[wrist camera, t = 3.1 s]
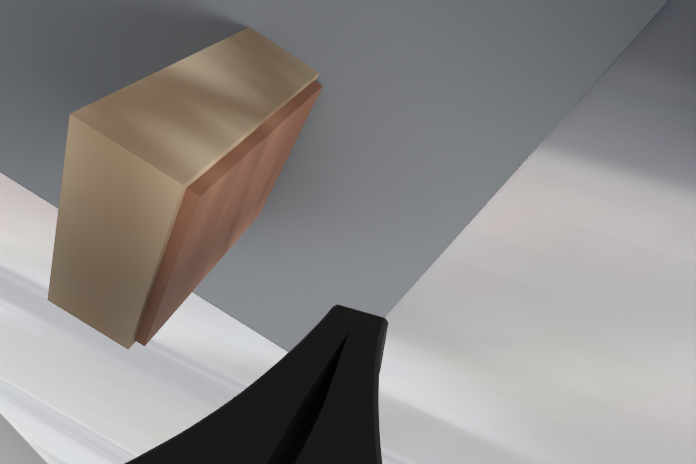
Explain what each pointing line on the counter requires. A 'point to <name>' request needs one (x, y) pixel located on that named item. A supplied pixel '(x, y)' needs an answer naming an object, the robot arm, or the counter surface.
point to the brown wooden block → (172, 180)
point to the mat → (330, 123)
